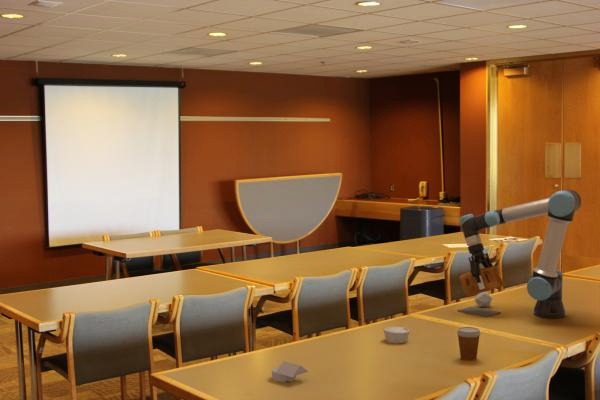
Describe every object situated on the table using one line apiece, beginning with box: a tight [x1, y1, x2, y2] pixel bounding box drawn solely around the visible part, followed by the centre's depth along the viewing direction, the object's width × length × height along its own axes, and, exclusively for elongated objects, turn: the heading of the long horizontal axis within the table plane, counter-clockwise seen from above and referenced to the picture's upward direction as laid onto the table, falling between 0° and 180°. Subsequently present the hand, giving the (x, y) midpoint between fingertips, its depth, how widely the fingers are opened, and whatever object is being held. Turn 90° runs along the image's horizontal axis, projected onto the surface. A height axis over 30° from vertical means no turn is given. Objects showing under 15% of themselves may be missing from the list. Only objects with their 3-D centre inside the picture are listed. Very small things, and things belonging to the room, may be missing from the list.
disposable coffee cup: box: [456, 326, 482, 362], centre depth 314 cm, size 10×10×12 cm
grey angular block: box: [271, 360, 309, 383], centre depth 290 cm, size 9×7×13 cm
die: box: [474, 291, 493, 308], centre depth 407 cm, size 8×9×10 cm
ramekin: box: [383, 326, 410, 345], centre depth 342 cm, size 11×11×5 cm
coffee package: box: [459, 265, 507, 298], centre depth 389 cm, size 10×12×22 cm
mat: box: [457, 306, 502, 318], centre depth 395 cm, size 18×12×1 cm, turn 41°
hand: (488, 287), depth 387 cm, fingers closed on coffee package, 9 cm apart
